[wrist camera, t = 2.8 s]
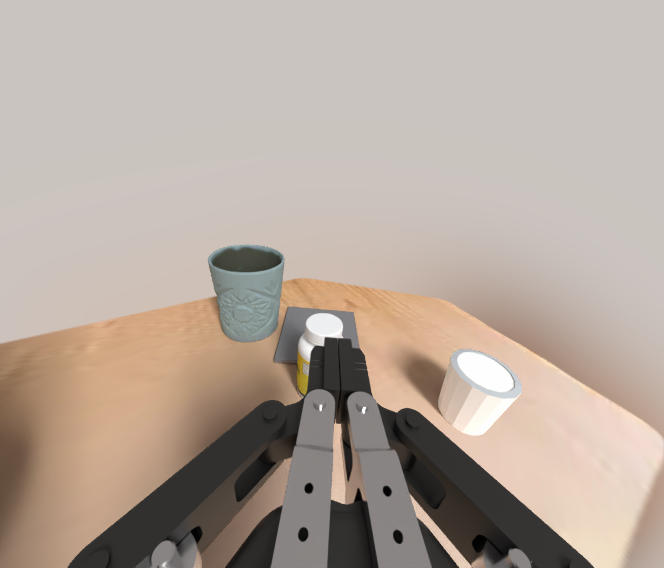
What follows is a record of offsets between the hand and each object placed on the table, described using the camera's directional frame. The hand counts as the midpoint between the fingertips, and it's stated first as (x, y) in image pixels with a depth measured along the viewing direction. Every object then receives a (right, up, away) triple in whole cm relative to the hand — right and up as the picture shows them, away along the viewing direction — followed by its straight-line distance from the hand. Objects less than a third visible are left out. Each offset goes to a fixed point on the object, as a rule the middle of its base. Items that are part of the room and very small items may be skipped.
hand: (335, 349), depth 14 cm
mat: (-2, -4, +25) cm, 26 cm away
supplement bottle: (-2, -9, +16) cm, 19 cm away
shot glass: (+15, -12, +15) cm, 25 cm away
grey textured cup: (-13, -3, +25) cm, 29 cm away
